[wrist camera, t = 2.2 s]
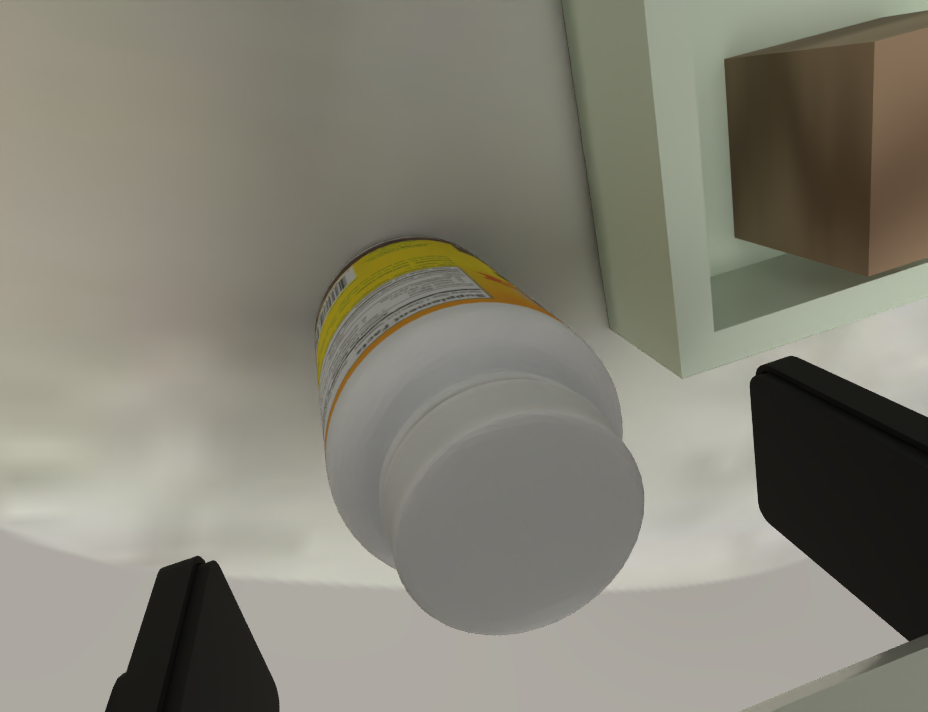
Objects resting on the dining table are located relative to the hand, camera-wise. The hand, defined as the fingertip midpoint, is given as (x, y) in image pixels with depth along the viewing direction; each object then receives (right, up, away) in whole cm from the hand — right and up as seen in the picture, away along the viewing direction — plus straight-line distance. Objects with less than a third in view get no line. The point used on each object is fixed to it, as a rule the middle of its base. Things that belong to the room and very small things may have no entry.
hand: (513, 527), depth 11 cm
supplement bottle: (-2, +4, +8) cm, 9 cm away
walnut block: (+9, +9, +8) cm, 15 cm away
